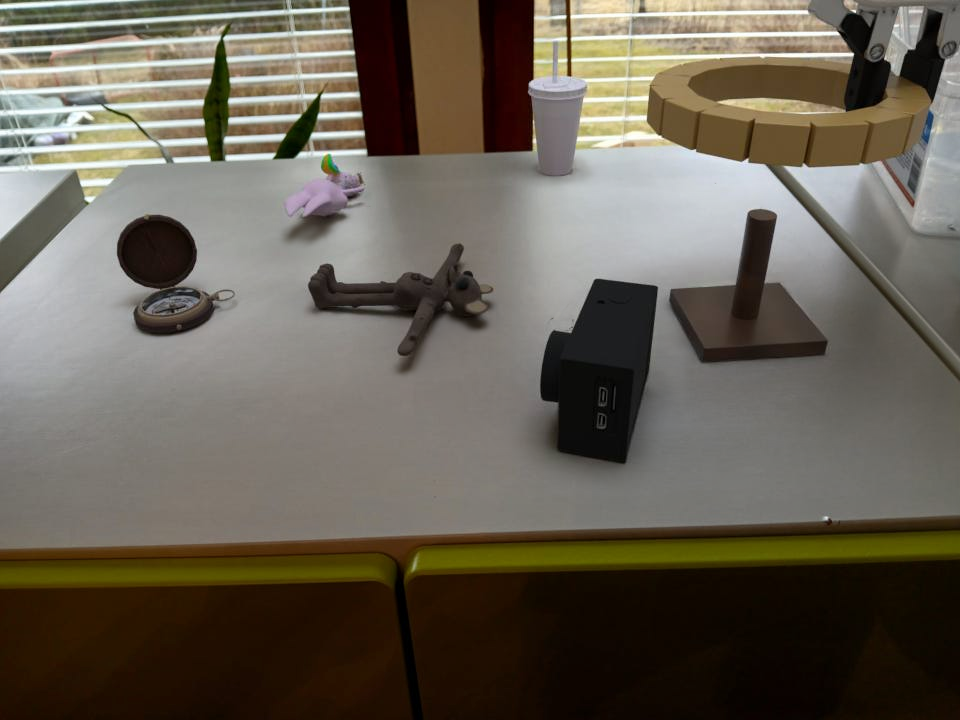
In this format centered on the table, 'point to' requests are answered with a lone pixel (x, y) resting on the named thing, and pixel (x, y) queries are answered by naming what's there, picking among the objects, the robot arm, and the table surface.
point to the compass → (163, 273)
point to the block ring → (783, 136)
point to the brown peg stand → (747, 308)
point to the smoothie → (556, 118)
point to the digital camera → (601, 369)
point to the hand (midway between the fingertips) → (883, 116)
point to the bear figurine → (406, 294)
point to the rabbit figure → (325, 192)
